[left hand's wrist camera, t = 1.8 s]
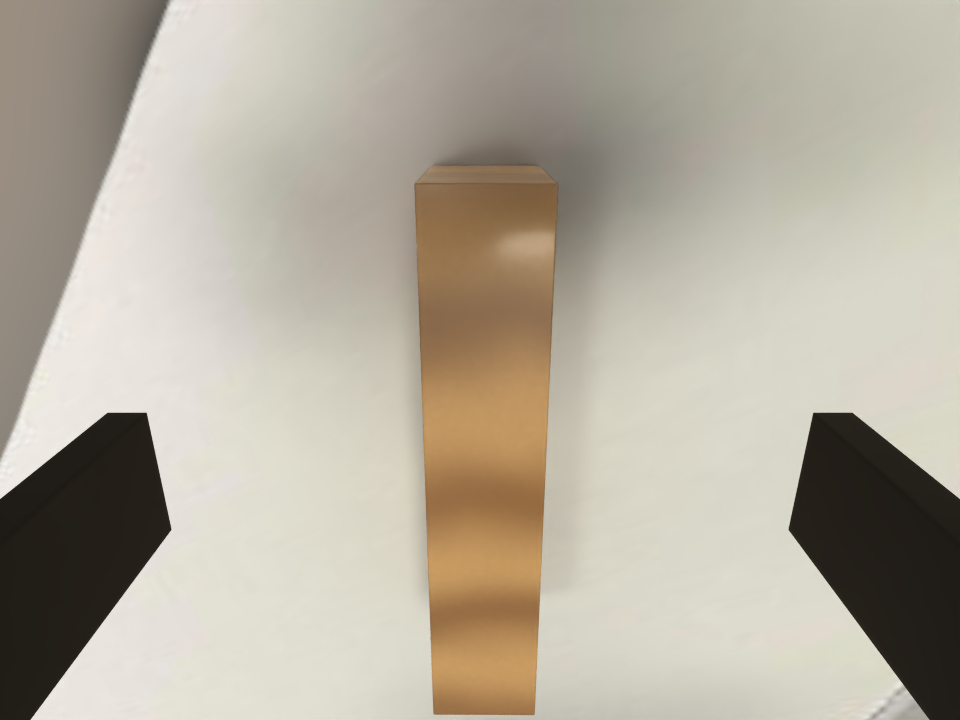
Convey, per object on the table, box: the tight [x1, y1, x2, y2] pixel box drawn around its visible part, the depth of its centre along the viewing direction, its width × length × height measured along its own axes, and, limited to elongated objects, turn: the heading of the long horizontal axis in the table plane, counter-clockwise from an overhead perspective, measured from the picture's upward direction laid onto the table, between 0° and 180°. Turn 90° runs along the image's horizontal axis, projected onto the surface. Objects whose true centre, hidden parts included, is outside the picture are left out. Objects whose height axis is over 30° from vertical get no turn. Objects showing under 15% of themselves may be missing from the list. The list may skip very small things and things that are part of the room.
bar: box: [415, 165, 558, 715], centre depth 31 cm, size 26×5×8 cm, turn 0°
